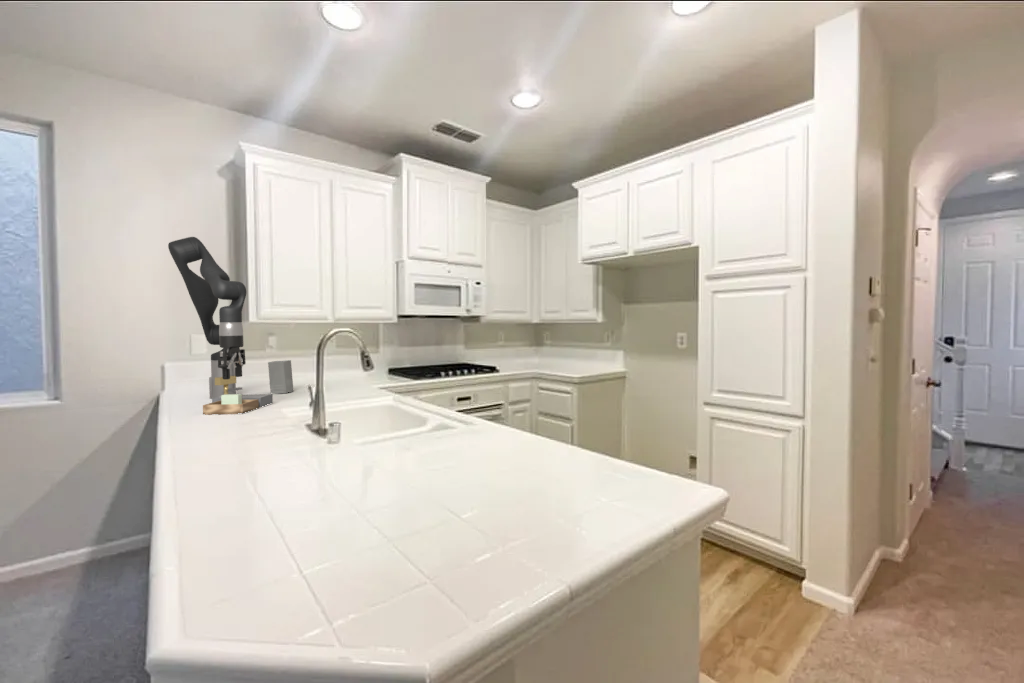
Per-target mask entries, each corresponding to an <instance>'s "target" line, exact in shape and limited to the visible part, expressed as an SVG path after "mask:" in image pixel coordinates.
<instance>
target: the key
mask: <svg viewBox="0 0 1024 683" xmlns="http://www.w3.org/2000/svg"><path fill="white" fill-rule="evenodd" d="M233 383H236V384H237V377H236V376H230V379H223V377H216V378H215V385H224V395H225V394H229V392H230V391H236V392H237V391H241V390H243V387H240V386H239V387H236V388H232V389H228V384H233Z"/></svg>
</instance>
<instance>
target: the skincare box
mask: <svg viewBox="0 0 1024 683" xmlns="http://www.w3.org/2000/svg"><path fill="white" fill-rule="evenodd" d="M267 365H268V368H267V369H268V376H269V389H270V394H271V393H279V394H289V393H293V392H294V380H293V372H292V371H293V369H292V360H273V361H268V362H267ZM292 391H293V392H292ZM288 392H289V393H288Z"/></svg>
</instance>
